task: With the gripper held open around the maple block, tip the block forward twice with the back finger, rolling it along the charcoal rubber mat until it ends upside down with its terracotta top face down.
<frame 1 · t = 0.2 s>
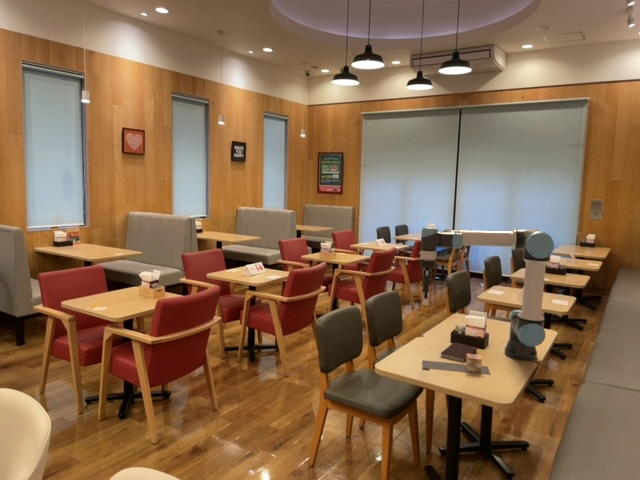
hand: (425, 301, 235), 28 cm above the table, tool pointing down, fingers open, 13 cm apart
block: (473, 368, 221), point 1 cm above the table, touching mat
mat: (455, 368, 222), on the table
book: (458, 356, 240), on the table
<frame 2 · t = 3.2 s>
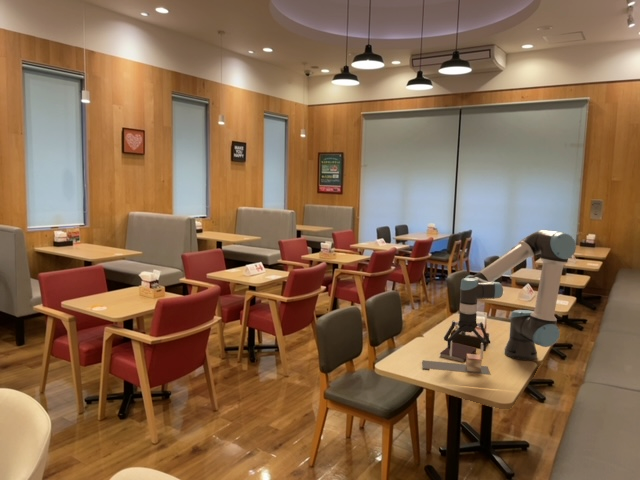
hand: (466, 356, 220), 6 cm above the table, tool pointing down, fingers open, 13 cm apart
block: (473, 368, 221), point 1 cm above the table, touching gripper, mat
everything else where it was.
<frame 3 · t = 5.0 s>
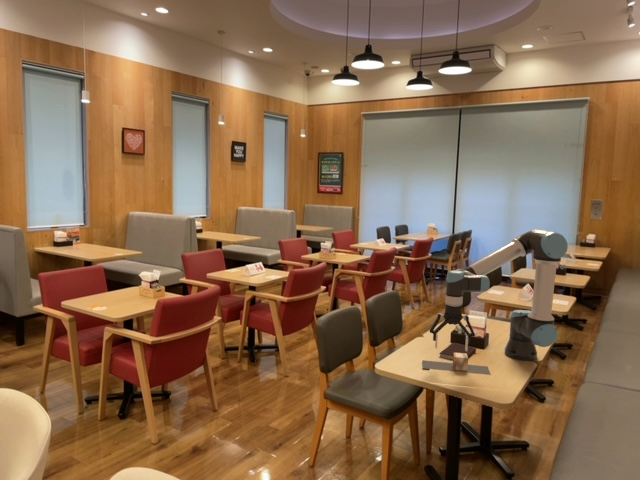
hand: (451, 348, 221), 9 cm above the table, tool pointing down, fingers open, 13 cm apart
block: (467, 362, 221), point 4 cm above the table, tilted 90°, touching mat
everything else where it was.
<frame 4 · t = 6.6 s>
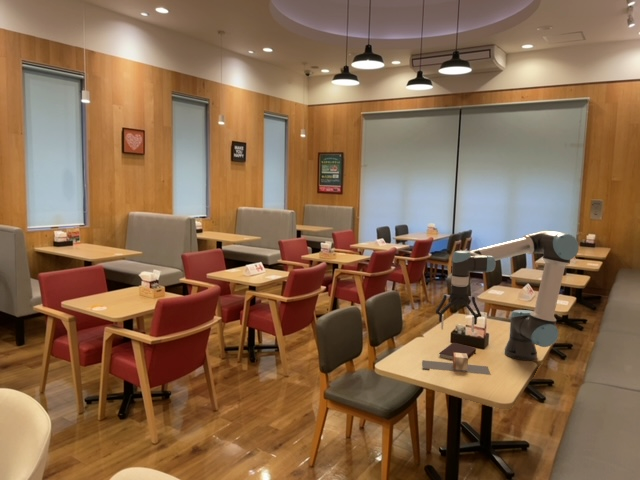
hand: (457, 330, 220), 18 cm above the table, tool pointing down, fingers open, 13 cm apart
nothing on the table moved.
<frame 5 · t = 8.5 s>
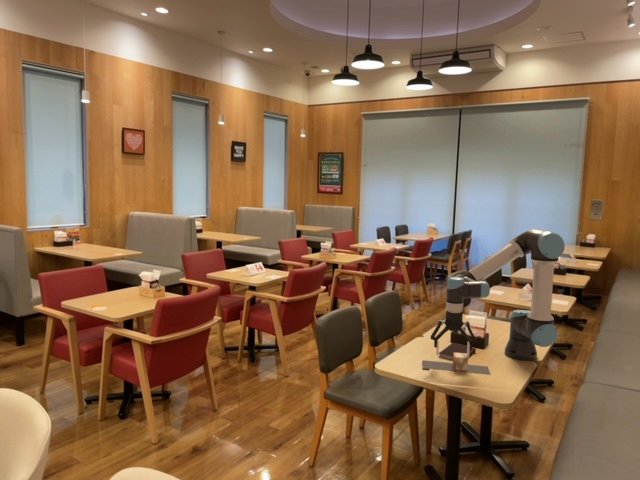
hand: (452, 355, 222), 6 cm above the table, tool pointing down, fingers open, 13 cm apart
block: (467, 361, 221), point 4 cm above the table, tilted 91°, touching gripper, mat
everything else where it was.
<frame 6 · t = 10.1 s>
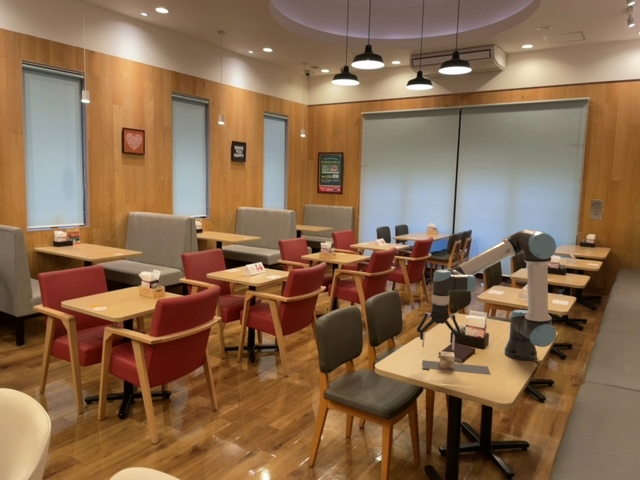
hand: (437, 347, 223), 9 cm above the table, tool pointing down, fingers open, 13 cm apart
block: (447, 354, 222), point 7 cm above the table, tilted 180°, touching mat
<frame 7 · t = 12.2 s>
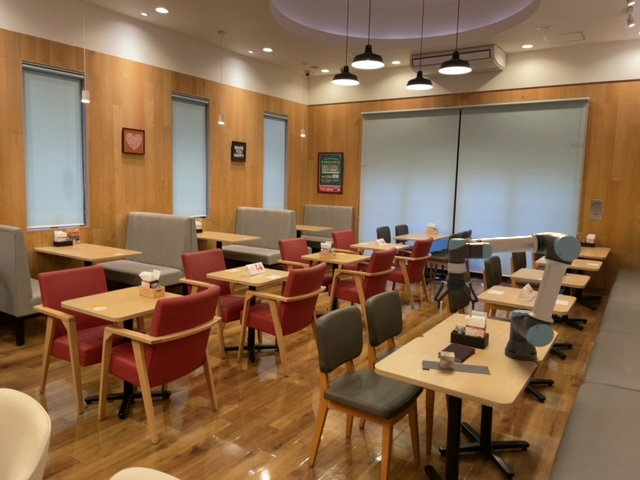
hand: (455, 315, 225), 24 cm above the table, tool pointing down, fingers open, 13 cm apart
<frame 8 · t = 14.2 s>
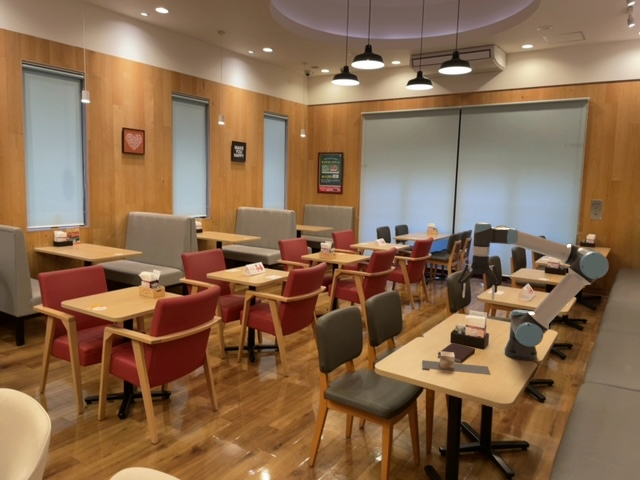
hand: (478, 298, 231), 31 cm above the table, tool pointing down, fingers open, 13 cm apart
at the end: block tilted 180°; block inside the target area (1.0 cm from its centre), point 6.6 cm above the table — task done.
